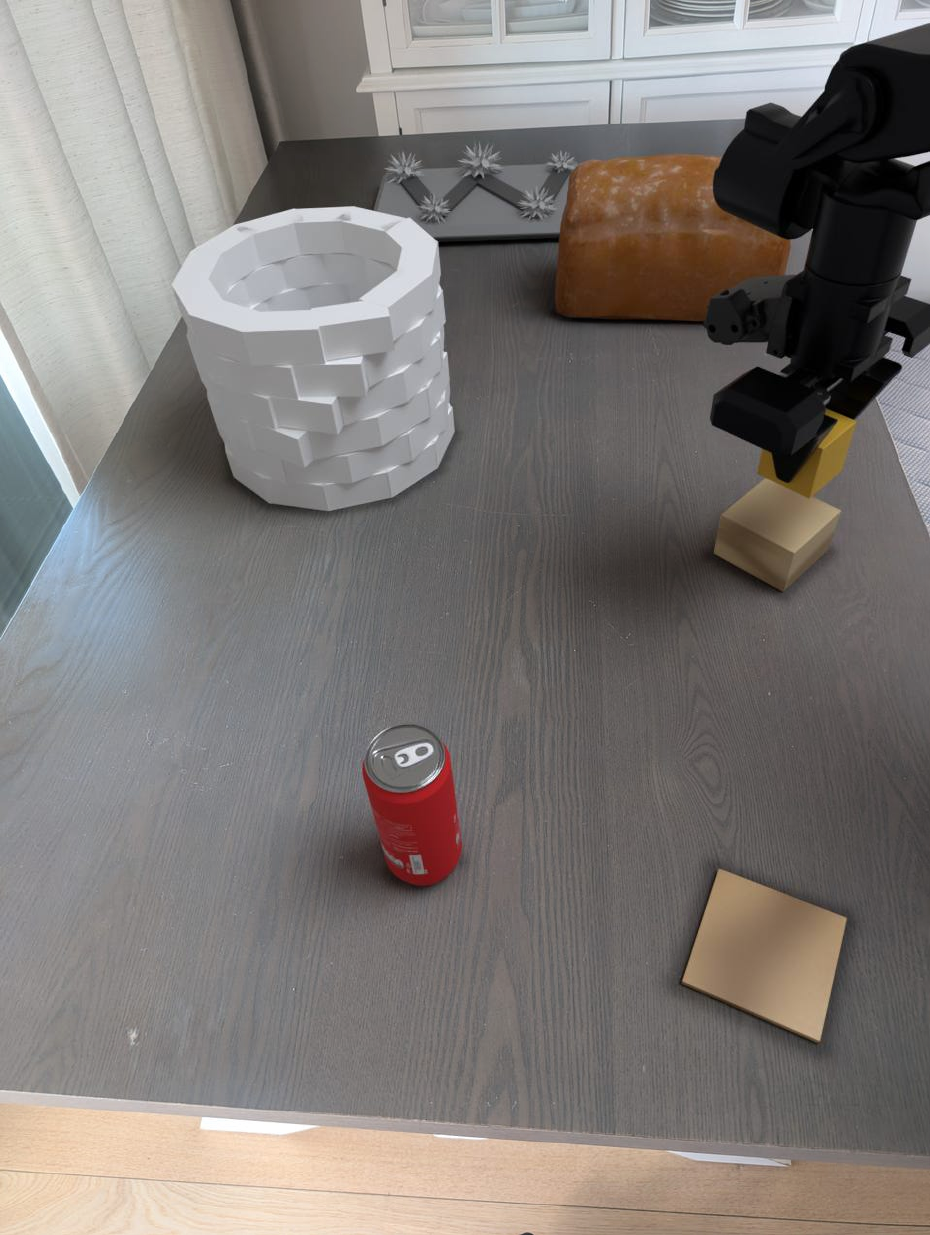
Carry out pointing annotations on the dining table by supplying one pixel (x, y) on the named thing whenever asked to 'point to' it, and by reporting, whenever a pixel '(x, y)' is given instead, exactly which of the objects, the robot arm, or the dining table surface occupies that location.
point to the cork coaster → (766, 954)
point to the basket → (322, 353)
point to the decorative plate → (479, 197)
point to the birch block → (775, 533)
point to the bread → (654, 241)
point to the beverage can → (413, 803)
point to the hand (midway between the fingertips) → (801, 465)
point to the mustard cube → (816, 459)
